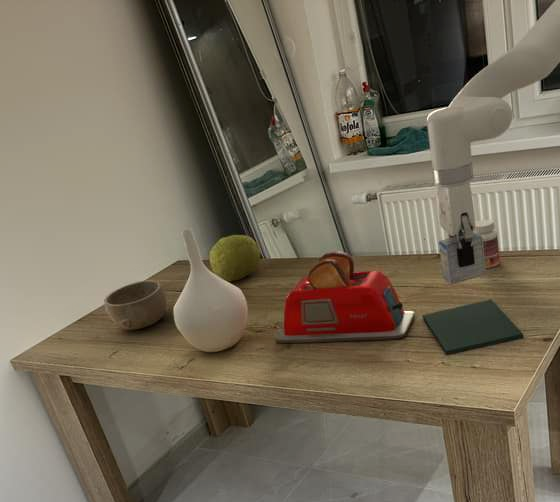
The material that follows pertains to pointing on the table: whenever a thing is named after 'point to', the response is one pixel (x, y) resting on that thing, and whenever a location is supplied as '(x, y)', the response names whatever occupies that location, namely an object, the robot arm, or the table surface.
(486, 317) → the mat
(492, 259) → the pill bottle
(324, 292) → the toaster
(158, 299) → the bowl
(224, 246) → the fruit
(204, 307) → the vase
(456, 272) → the medicine box
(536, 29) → the robot arm
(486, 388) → the table surface
